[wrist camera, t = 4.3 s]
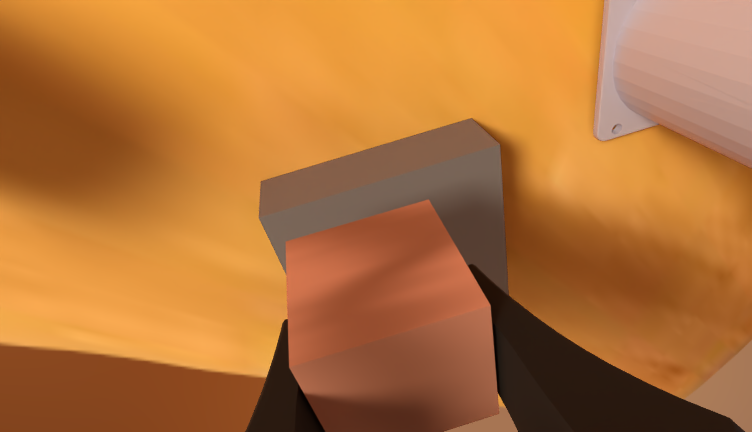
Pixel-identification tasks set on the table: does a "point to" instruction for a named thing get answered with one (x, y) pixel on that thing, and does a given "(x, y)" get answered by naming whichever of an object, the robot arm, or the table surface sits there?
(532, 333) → the robot arm
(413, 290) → the cube
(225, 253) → the table surface
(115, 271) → the table surface
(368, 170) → the base block
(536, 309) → the table surface
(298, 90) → the table surface
